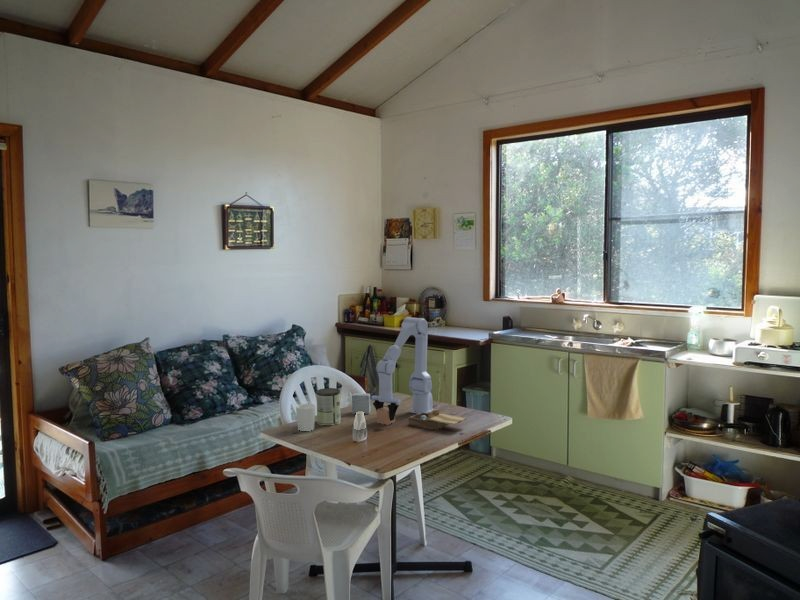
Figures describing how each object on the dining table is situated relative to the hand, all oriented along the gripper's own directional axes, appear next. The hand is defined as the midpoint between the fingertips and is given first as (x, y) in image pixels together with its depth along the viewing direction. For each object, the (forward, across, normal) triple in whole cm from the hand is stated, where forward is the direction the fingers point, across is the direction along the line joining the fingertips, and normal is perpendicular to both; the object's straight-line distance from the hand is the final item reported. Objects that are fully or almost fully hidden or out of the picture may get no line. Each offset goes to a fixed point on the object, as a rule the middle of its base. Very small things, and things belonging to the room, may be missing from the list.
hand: (386, 418), depth 266 cm
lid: (-2, +26, +8) cm, 27 cm away
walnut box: (+2, +17, +8) cm, 19 cm away
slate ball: (+2, +13, +10) cm, 16 cm away
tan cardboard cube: (+2, 0, 0) cm, 2 cm away
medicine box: (+2, -19, +6) cm, 20 cm away
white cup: (+2, -22, -26) cm, 34 cm away
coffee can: (+2, -21, -14) cm, 25 cm away
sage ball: (+2, +16, +6) cm, 17 cm away
